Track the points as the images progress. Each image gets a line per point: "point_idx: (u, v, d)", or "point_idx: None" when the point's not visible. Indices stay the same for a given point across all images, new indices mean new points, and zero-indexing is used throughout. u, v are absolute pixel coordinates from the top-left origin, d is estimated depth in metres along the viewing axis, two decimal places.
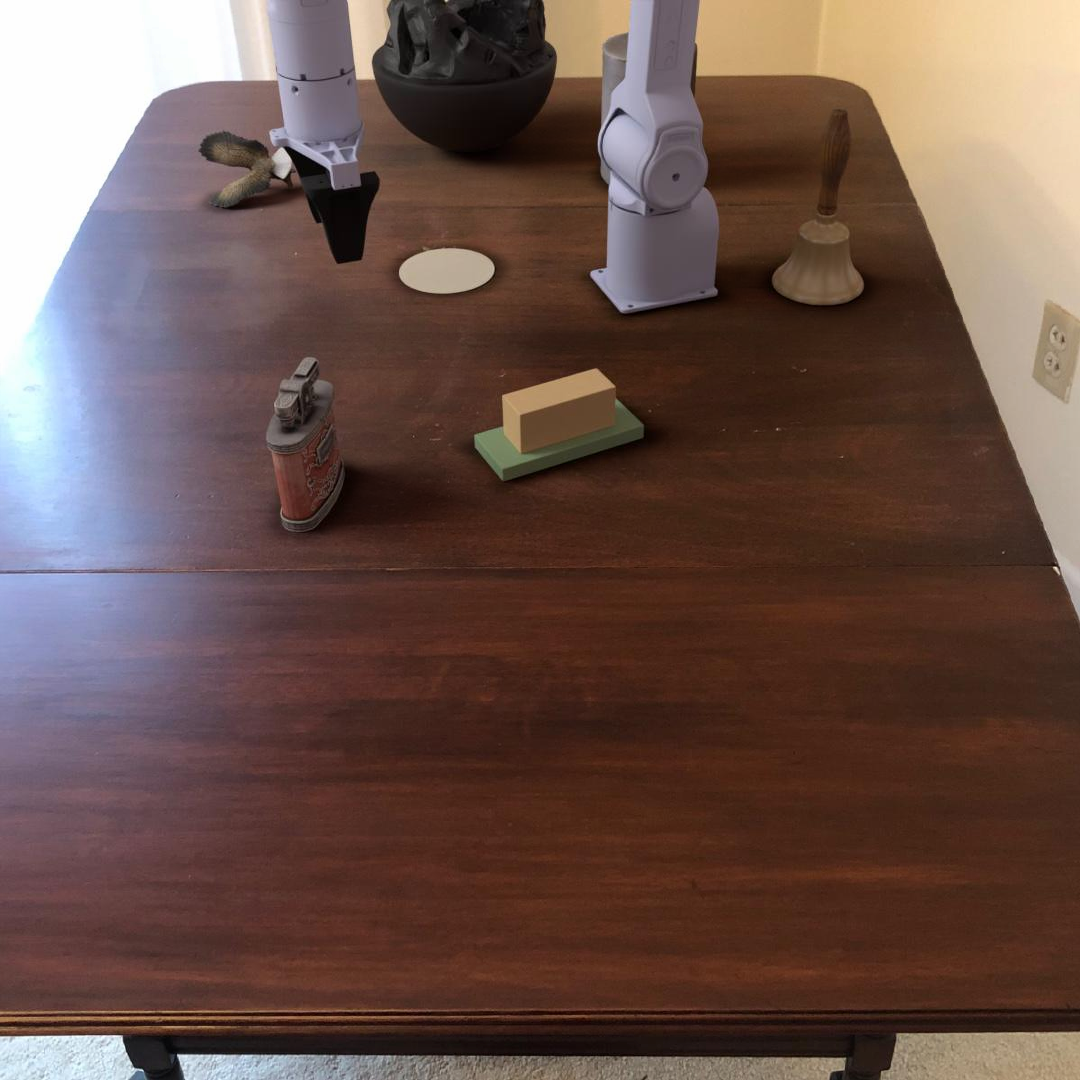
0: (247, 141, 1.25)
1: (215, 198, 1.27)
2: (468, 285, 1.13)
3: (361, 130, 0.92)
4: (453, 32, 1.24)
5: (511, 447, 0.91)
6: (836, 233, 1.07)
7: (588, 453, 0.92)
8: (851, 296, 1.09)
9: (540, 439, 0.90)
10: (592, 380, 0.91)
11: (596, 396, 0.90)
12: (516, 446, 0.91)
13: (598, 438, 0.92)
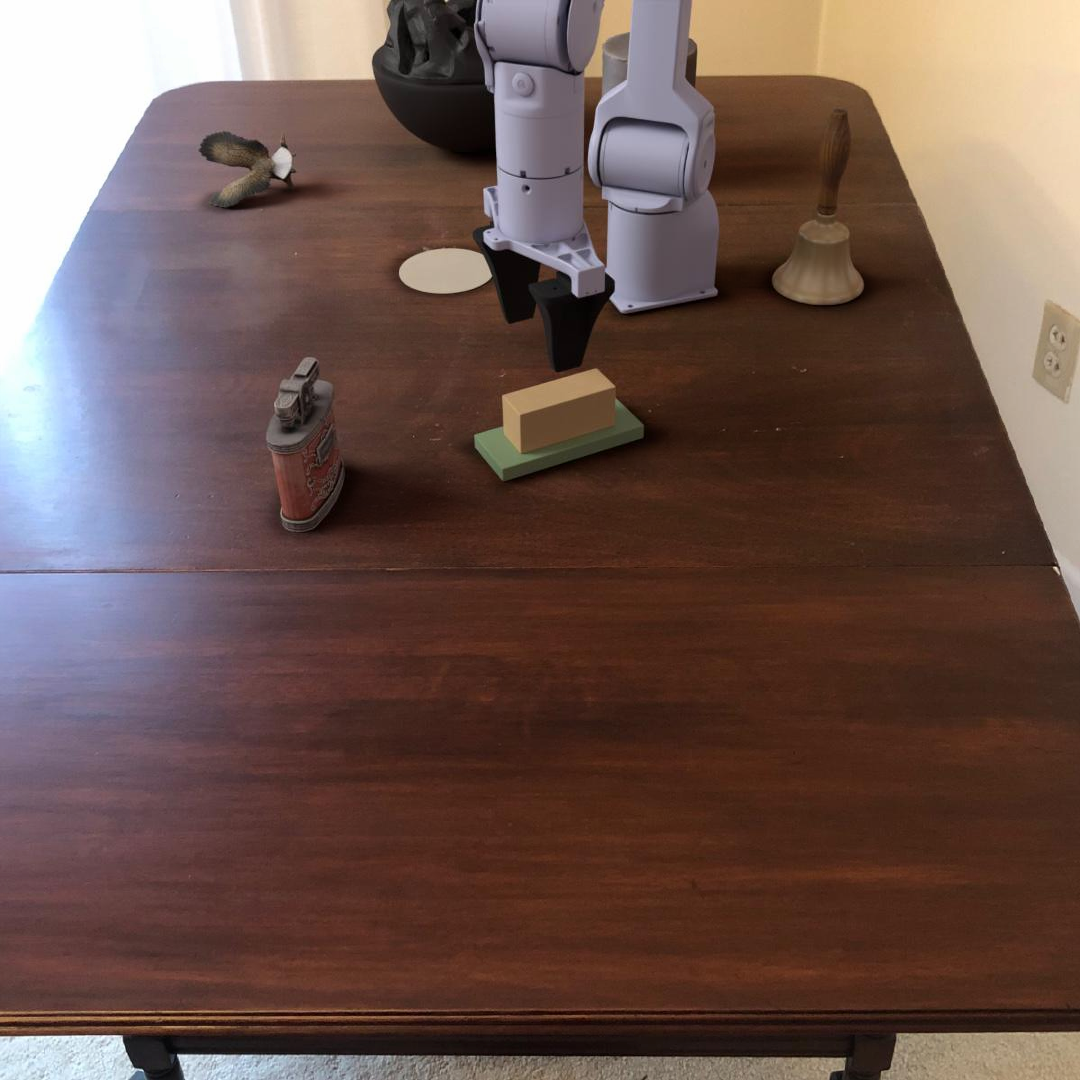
0: (247, 141, 1.25)
1: (215, 198, 1.27)
2: (468, 285, 1.13)
3: (585, 226, 0.83)
4: (453, 32, 1.24)
5: (511, 447, 0.91)
6: (836, 233, 1.07)
7: (588, 453, 0.92)
8: (851, 296, 1.09)
9: (540, 439, 0.90)
10: (592, 380, 0.91)
11: (596, 396, 0.90)
12: (516, 446, 0.91)
13: (598, 438, 0.92)
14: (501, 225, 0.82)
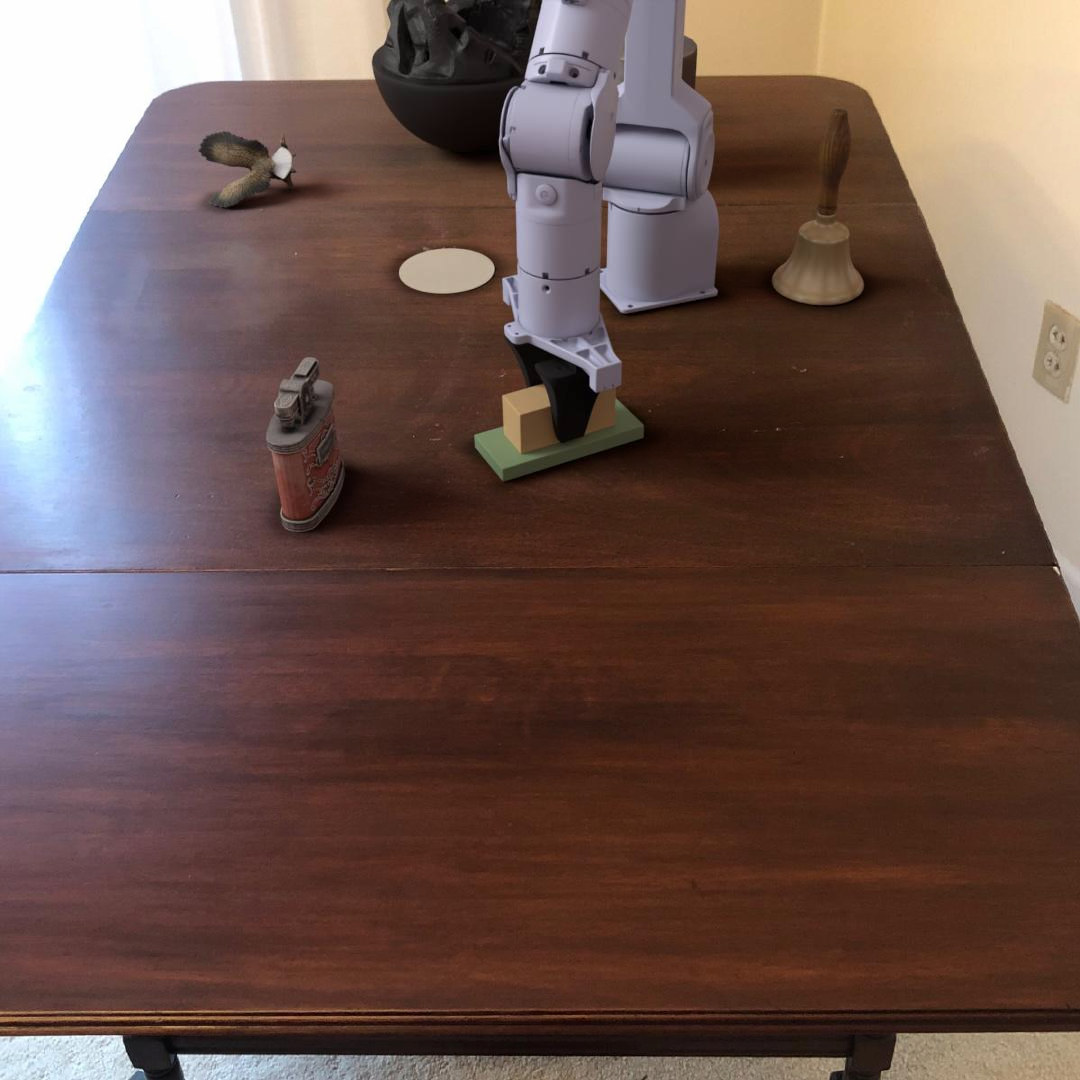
0: (247, 141, 1.25)
1: (215, 198, 1.27)
2: (468, 285, 1.13)
3: (602, 319, 0.86)
4: (453, 32, 1.24)
5: (511, 447, 0.91)
6: (836, 233, 1.07)
7: (588, 453, 0.92)
8: (851, 296, 1.09)
9: (540, 439, 0.90)
10: None
11: None
12: (516, 446, 0.91)
13: (598, 439, 0.92)
14: (521, 319, 0.85)
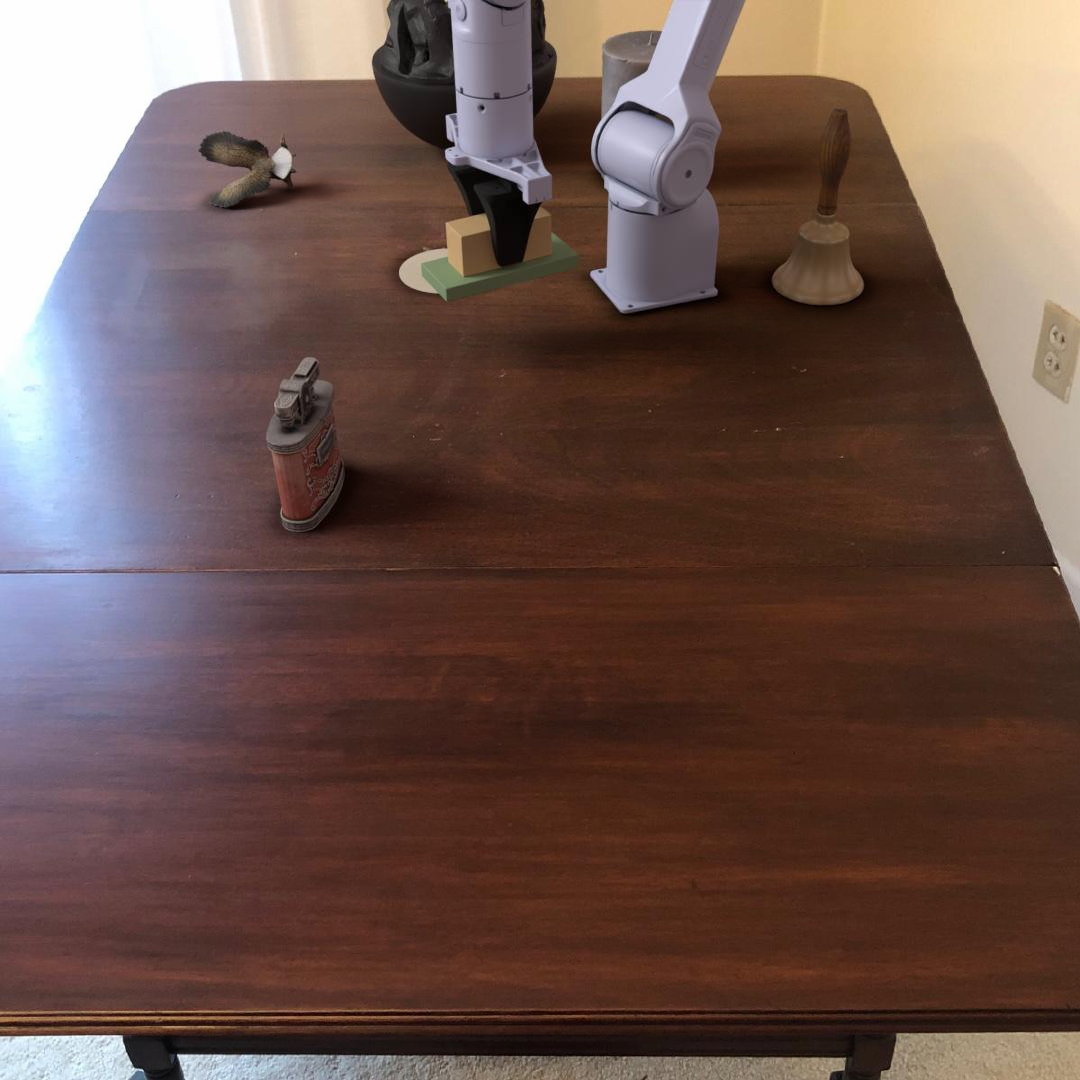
0: (247, 141, 1.25)
1: (215, 198, 1.27)
2: None
3: (535, 144, 0.93)
4: None
5: (455, 272, 0.98)
6: (836, 233, 1.07)
7: (527, 279, 0.99)
8: (851, 296, 1.09)
9: (481, 263, 0.97)
10: None
11: (533, 223, 0.97)
12: (459, 270, 0.98)
13: (535, 265, 0.99)
14: (460, 143, 0.92)
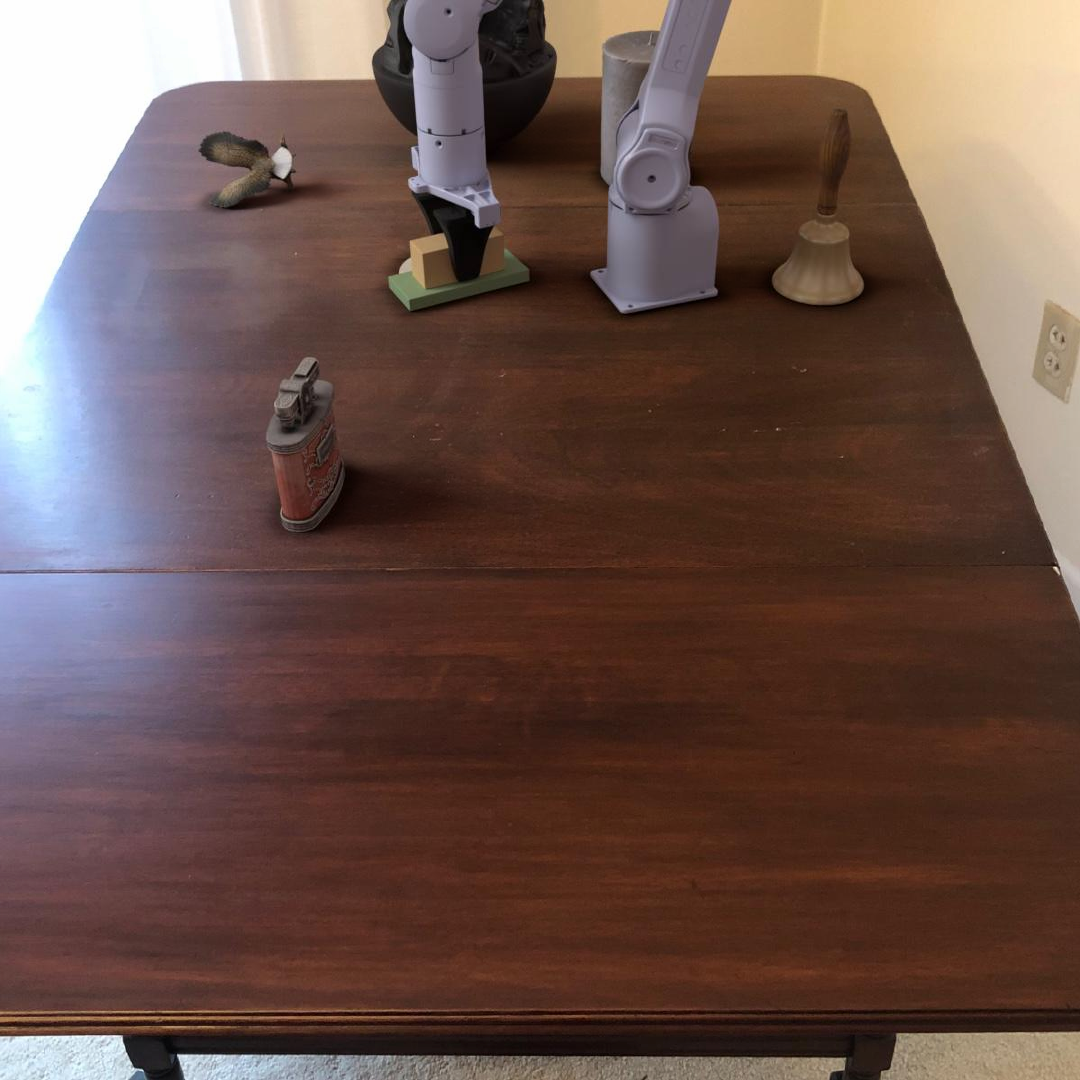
0: (247, 141, 1.25)
1: (215, 198, 1.27)
2: None
3: (488, 175, 1.06)
4: None
5: (417, 285, 1.10)
6: (836, 233, 1.07)
7: (482, 291, 1.11)
8: (851, 296, 1.09)
9: (441, 277, 1.10)
10: None
11: (487, 242, 1.10)
12: (421, 283, 1.10)
13: (490, 278, 1.11)
14: (422, 174, 1.05)
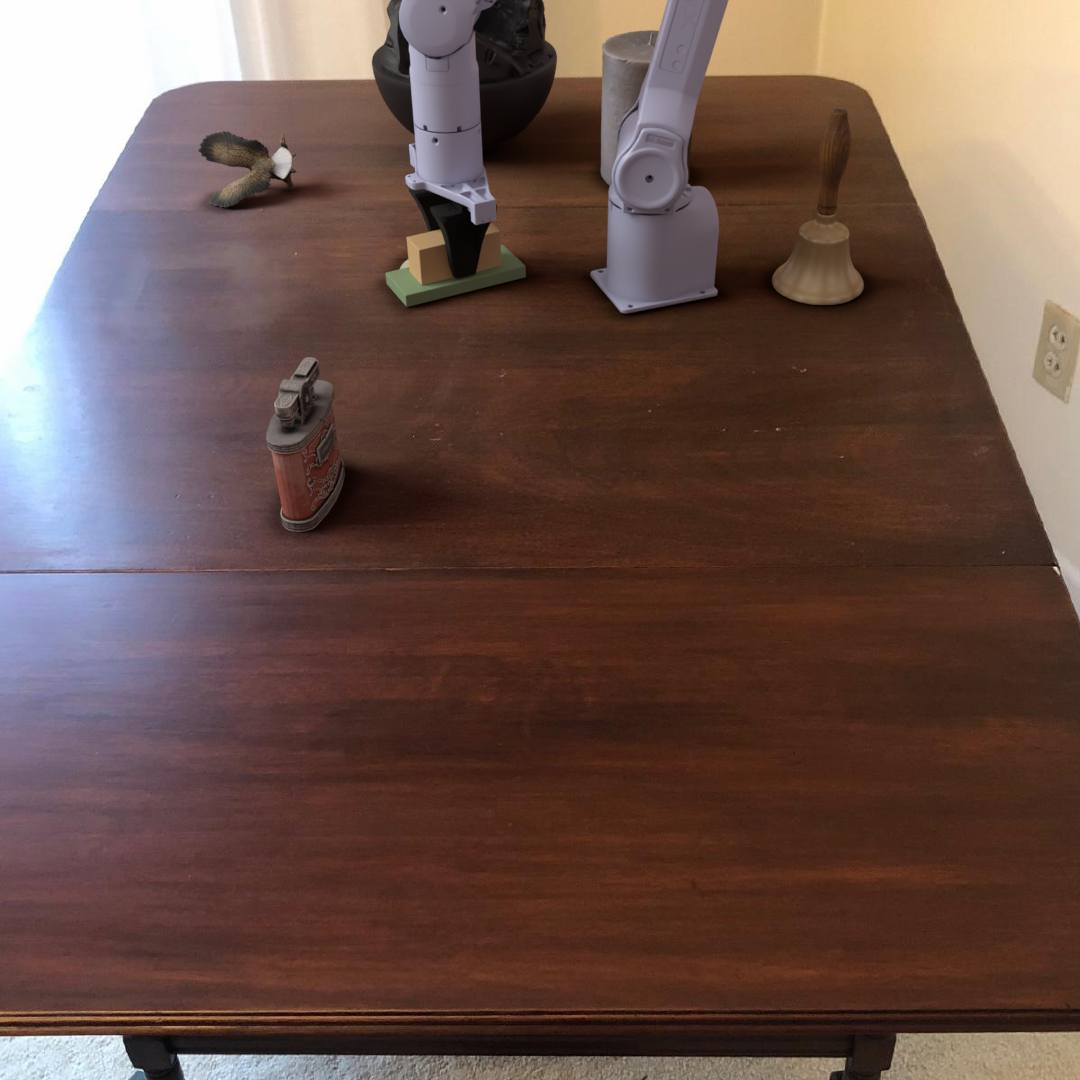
0: (247, 141, 1.25)
1: (215, 198, 1.27)
2: None
3: (485, 172, 1.06)
4: None
5: (414, 281, 1.11)
6: (836, 233, 1.07)
7: (478, 287, 1.12)
8: (851, 296, 1.09)
9: (437, 273, 1.10)
10: None
11: None
12: (418, 279, 1.11)
13: (486, 275, 1.12)
14: (418, 170, 1.06)
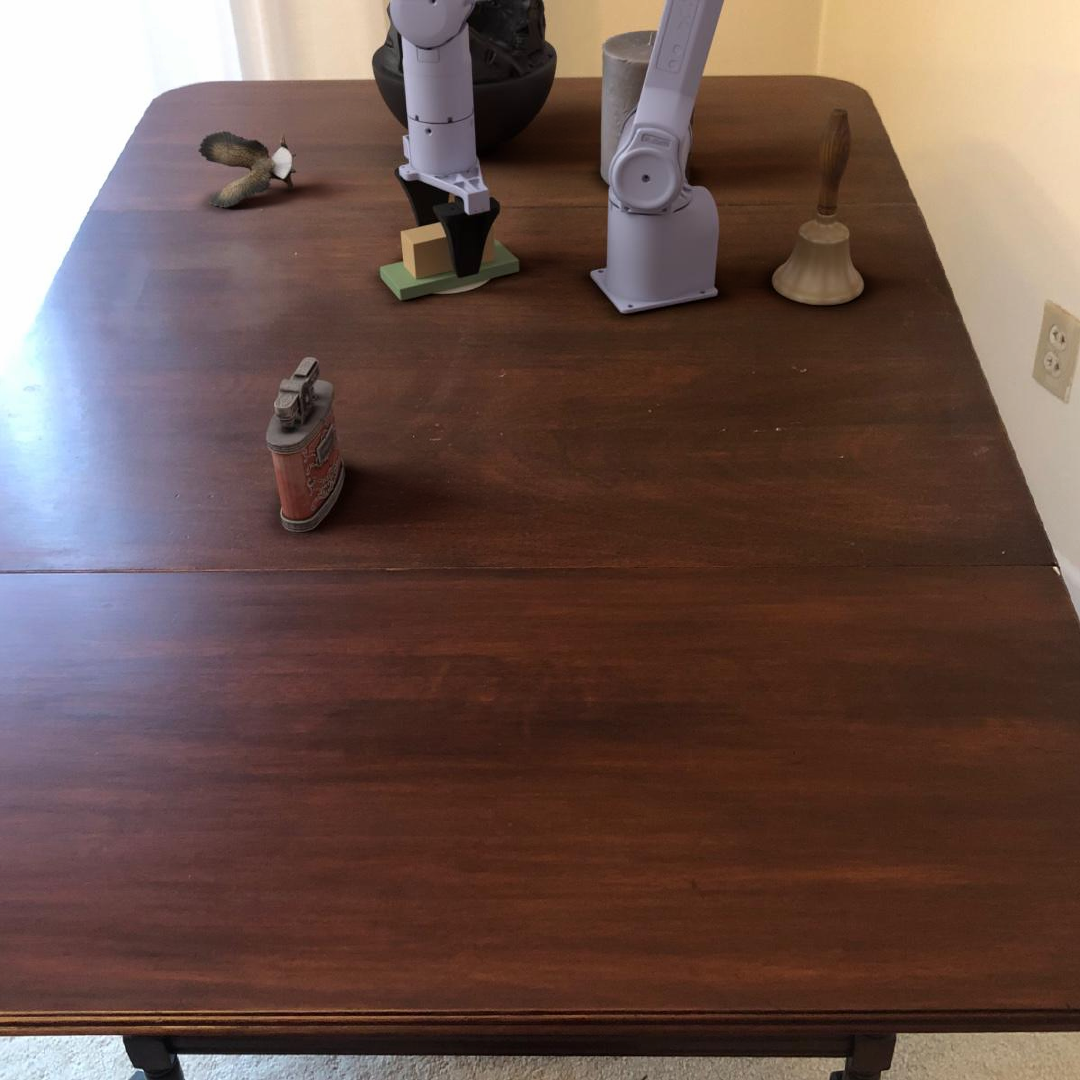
0: (247, 141, 1.25)
1: (215, 198, 1.27)
2: (468, 285, 1.13)
3: (478, 162, 1.07)
4: None
5: (408, 275, 1.12)
6: (836, 233, 1.07)
7: (472, 281, 1.13)
8: (851, 296, 1.09)
9: (431, 267, 1.11)
10: None
11: None
12: (412, 273, 1.11)
13: (480, 269, 1.13)
14: (412, 161, 1.06)
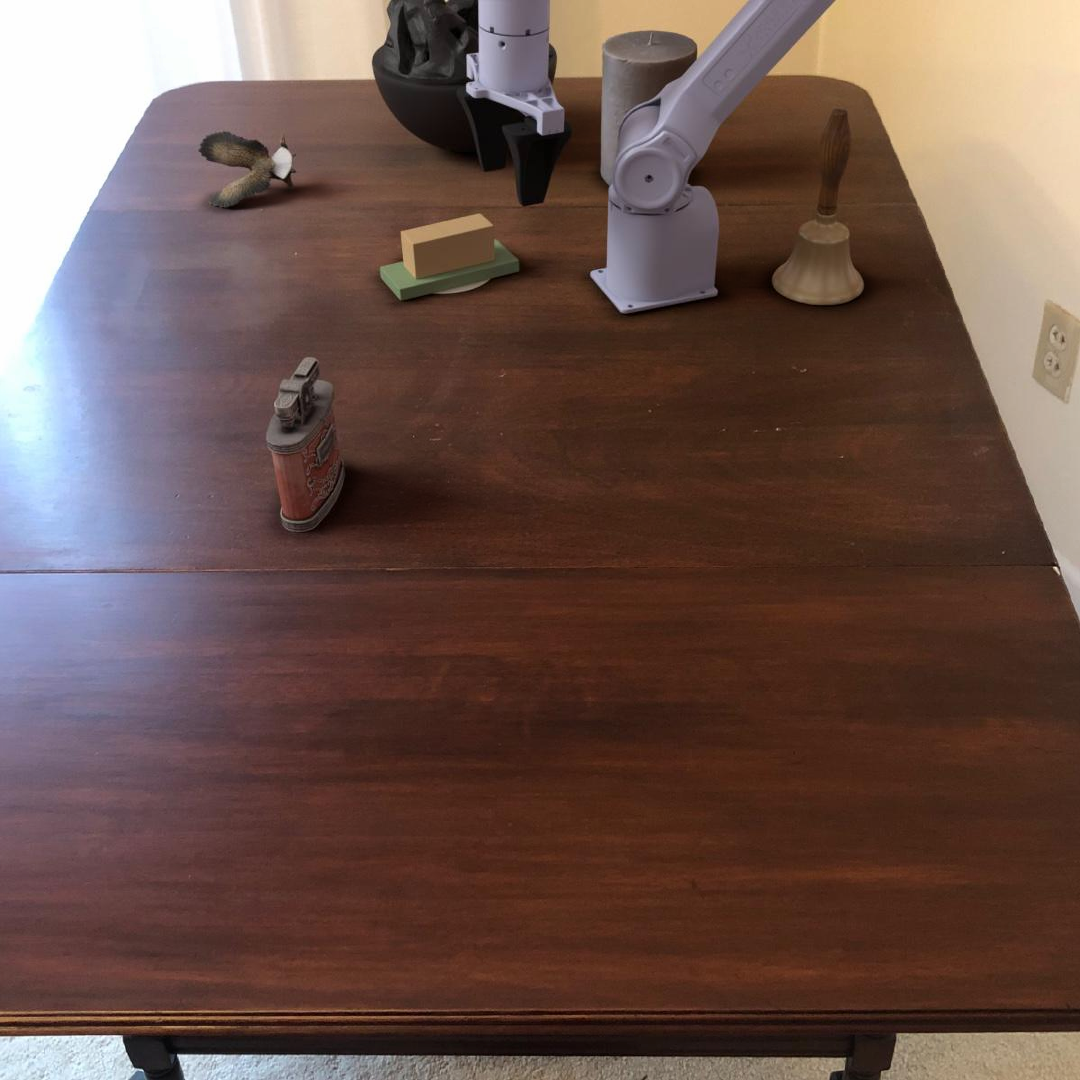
0: (247, 141, 1.25)
1: (215, 198, 1.27)
2: (468, 285, 1.13)
3: (550, 83, 1.01)
4: (453, 32, 1.24)
5: (408, 275, 1.12)
6: (836, 233, 1.07)
7: (472, 281, 1.13)
8: (851, 296, 1.09)
9: (431, 267, 1.11)
10: (475, 221, 1.12)
11: (477, 232, 1.11)
12: (412, 273, 1.11)
13: (480, 269, 1.13)
14: (481, 78, 1.00)
